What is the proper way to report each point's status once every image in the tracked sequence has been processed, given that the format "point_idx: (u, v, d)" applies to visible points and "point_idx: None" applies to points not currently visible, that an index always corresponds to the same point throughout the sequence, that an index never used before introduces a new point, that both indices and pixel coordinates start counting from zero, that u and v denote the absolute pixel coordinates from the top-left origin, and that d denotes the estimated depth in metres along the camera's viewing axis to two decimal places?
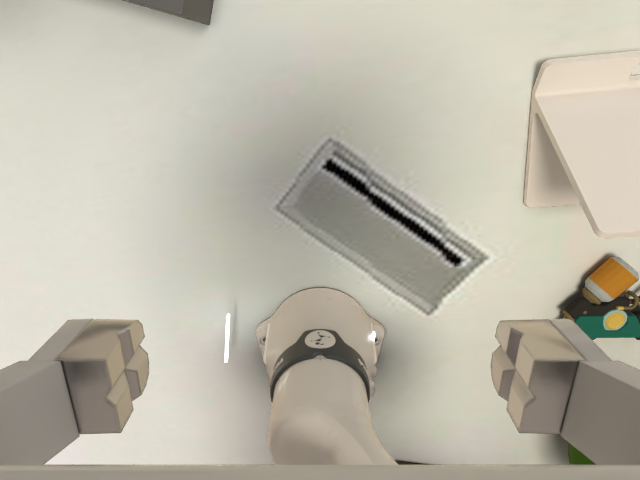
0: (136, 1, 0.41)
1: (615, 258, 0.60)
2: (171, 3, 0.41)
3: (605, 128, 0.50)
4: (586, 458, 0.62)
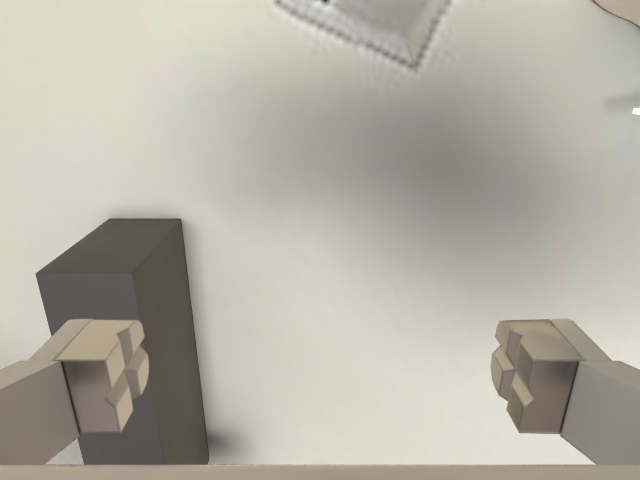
0: None
1: None
2: (122, 288, 0.29)
3: None
4: None
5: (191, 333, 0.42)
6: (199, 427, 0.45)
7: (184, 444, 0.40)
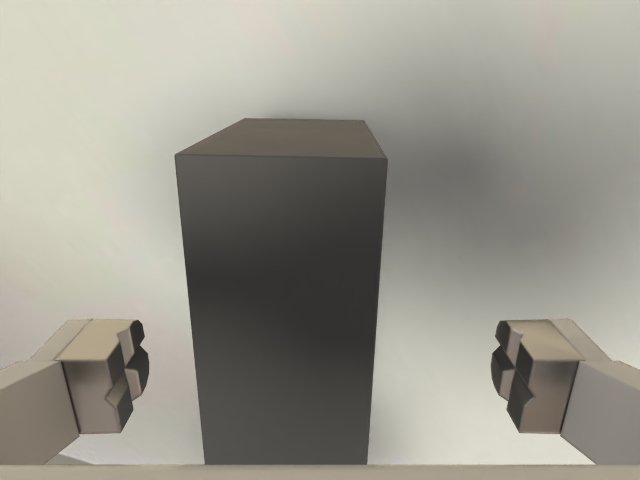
0: (375, 288, 0.14)
1: None
2: (359, 194, 0.13)
3: None
4: None
5: None
6: None
7: None
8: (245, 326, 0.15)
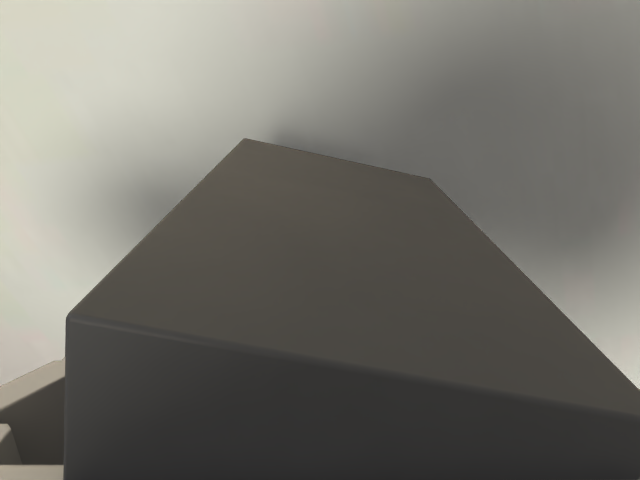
0: None
1: None
2: None
3: None
4: None
5: None
6: None
7: None
8: None
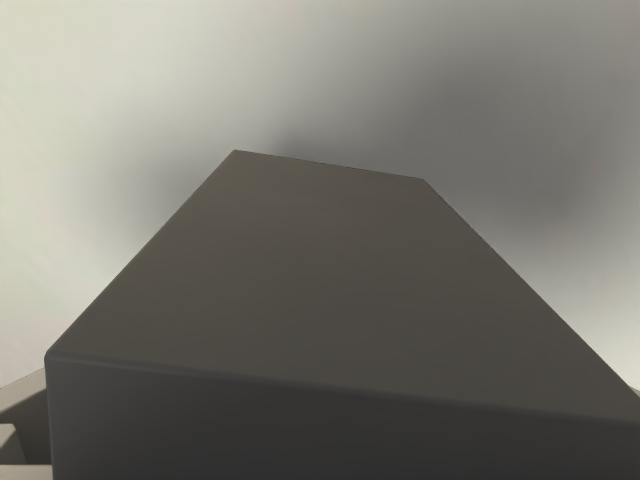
0: None
1: None
2: None
3: None
4: None
5: None
6: None
7: None
8: None
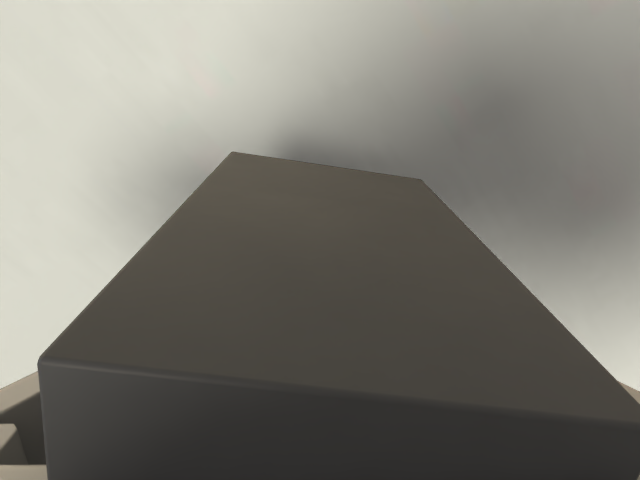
0: None
1: None
2: None
3: None
4: None
5: None
6: None
7: None
8: None
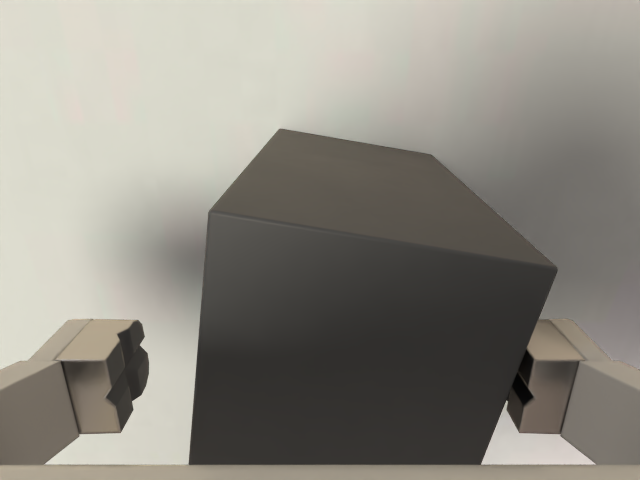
0: (483, 445, 0.09)
1: None
2: (498, 314, 0.08)
3: None
4: None
5: None
6: None
7: None
8: None
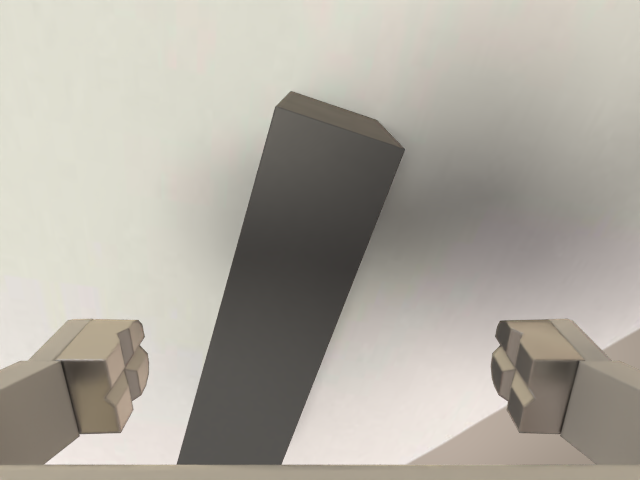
0: (371, 229, 0.22)
1: None
2: (381, 166, 0.21)
3: None
4: None
5: None
6: None
7: None
8: (279, 231, 0.22)
